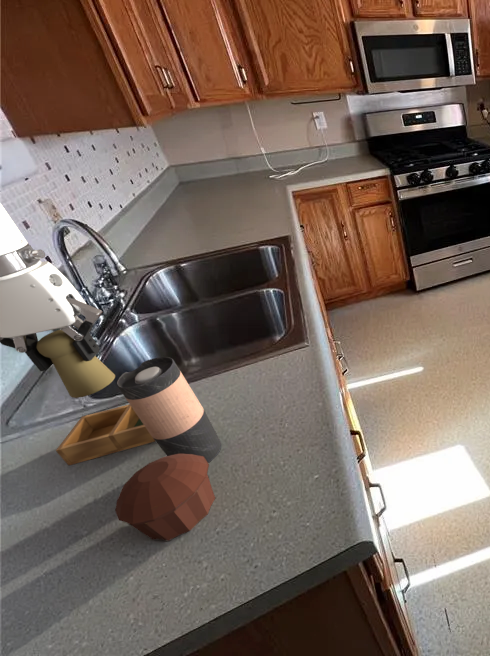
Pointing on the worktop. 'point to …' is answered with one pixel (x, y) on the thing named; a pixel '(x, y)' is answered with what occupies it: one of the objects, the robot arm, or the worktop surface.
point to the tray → (104, 435)
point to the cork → (74, 365)
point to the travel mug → (169, 409)
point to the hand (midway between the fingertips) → (70, 360)
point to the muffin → (167, 496)
